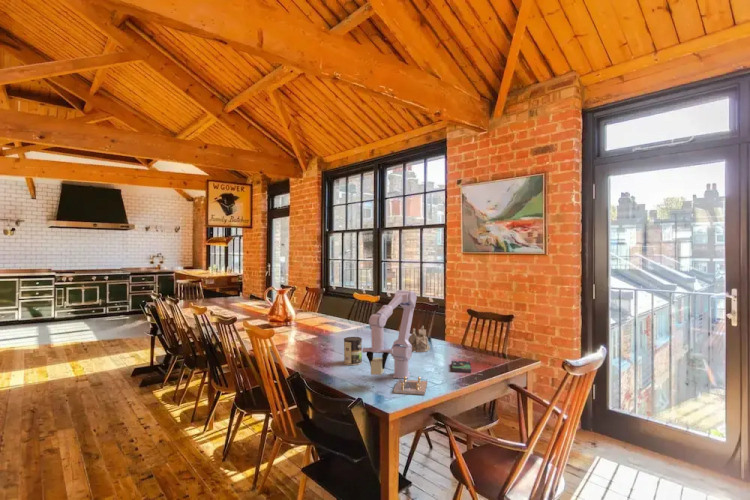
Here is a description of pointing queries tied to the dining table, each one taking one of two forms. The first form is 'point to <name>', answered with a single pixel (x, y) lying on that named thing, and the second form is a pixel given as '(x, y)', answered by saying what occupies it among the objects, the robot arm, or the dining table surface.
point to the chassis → (411, 386)
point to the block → (377, 366)
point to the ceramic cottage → (419, 341)
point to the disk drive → (461, 366)
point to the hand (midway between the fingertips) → (377, 368)
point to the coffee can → (352, 350)
